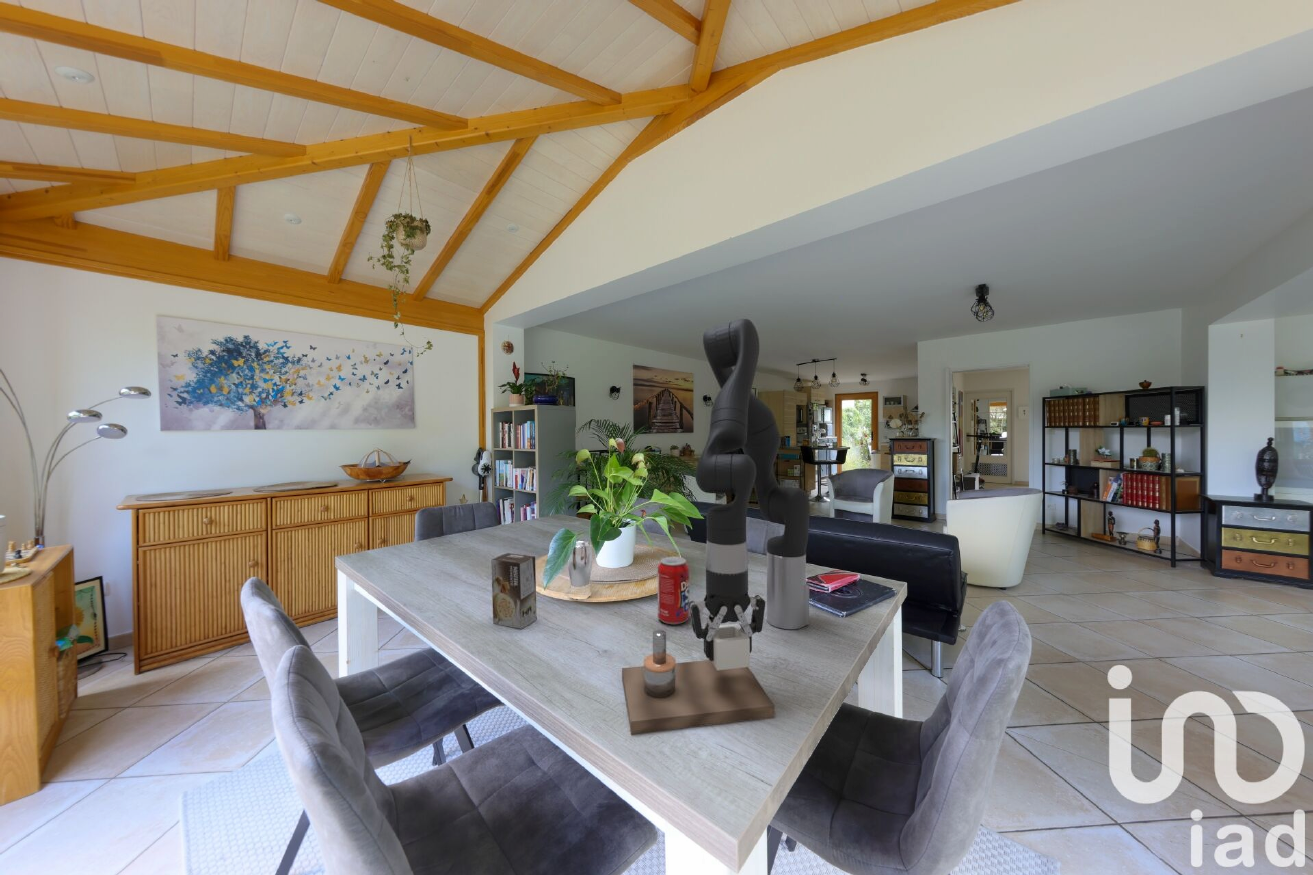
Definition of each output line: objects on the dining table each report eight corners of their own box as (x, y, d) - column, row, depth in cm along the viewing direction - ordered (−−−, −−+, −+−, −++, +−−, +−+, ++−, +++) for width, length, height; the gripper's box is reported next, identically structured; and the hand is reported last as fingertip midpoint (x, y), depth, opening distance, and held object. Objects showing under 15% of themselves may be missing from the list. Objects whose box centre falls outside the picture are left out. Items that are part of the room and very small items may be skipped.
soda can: (652, 617, 116) (651, 558, 115) (678, 610, 119) (678, 553, 119) (668, 629, 109) (667, 566, 108) (695, 622, 113) (695, 561, 112)
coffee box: (538, 619, 115) (537, 555, 114) (521, 629, 109) (520, 563, 108) (508, 613, 118) (507, 552, 118) (491, 623, 112) (490, 559, 112)
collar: (737, 649, 86) (737, 623, 86) (749, 666, 80) (749, 638, 80) (707, 653, 85) (706, 626, 85) (717, 670, 79) (716, 642, 79)
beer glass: (581, 602, 125) (580, 548, 125) (562, 597, 129) (561, 544, 128) (597, 594, 131) (597, 542, 131) (579, 589, 135) (578, 539, 134)
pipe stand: (741, 666, 92) (741, 607, 92) (774, 717, 76) (774, 646, 76) (622, 678, 88) (621, 616, 88) (631, 733, 72) (630, 659, 72)
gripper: (756, 556, 87) (757, 642, 88) (682, 561, 85) (684, 650, 85) (773, 568, 80) (773, 663, 80) (693, 574, 77) (694, 672, 78)
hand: (727, 656), depth 83 cm, fingers closed on collar, 6 cm apart
